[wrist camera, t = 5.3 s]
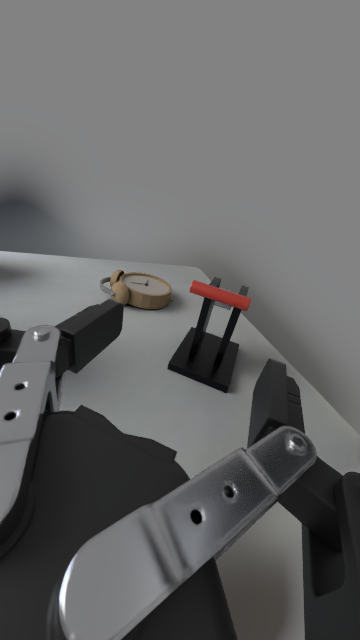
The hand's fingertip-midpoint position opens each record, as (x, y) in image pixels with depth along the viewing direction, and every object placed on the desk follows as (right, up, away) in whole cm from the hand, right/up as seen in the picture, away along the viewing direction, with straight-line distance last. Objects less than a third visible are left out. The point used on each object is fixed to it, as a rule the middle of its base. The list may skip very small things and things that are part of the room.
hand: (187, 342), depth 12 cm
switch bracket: (+4, -5, +26) cm, 26 cm away
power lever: (+4, +3, +15) cm, 16 cm away
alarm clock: (-10, +6, +39) cm, 40 cm away
